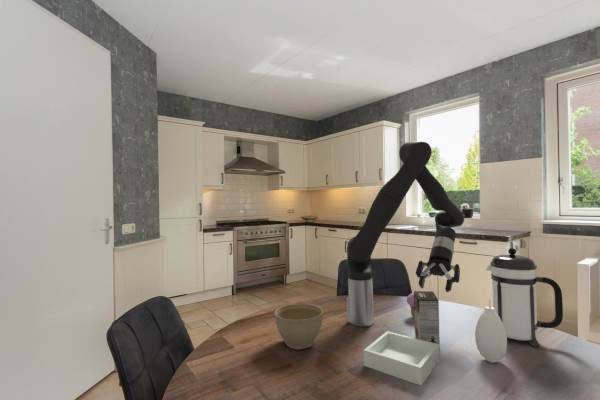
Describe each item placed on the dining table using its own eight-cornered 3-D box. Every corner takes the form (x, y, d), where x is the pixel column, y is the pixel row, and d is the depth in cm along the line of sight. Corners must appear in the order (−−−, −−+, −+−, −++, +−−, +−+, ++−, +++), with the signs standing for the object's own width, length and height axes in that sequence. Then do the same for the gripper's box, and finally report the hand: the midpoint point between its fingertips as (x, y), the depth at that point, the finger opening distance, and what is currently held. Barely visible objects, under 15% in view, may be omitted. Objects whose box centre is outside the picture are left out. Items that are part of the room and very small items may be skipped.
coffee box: (414, 337, 106) (413, 290, 106) (434, 338, 105) (432, 291, 105) (419, 350, 97) (417, 298, 97) (441, 351, 96) (439, 299, 96)
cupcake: (406, 319, 122) (405, 294, 122) (408, 312, 130) (407, 288, 130) (431, 322, 118) (430, 296, 118) (431, 314, 126) (430, 290, 126)
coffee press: (519, 353, 93) (516, 253, 94) (478, 331, 109) (476, 246, 109) (565, 345, 97) (562, 250, 97) (519, 326, 113) (516, 243, 113)
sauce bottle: (509, 370, 84) (506, 304, 84) (476, 364, 88) (473, 300, 88) (506, 357, 91) (504, 296, 91) (475, 352, 95) (473, 293, 95)
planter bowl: (333, 341, 104) (332, 309, 104) (300, 360, 93) (299, 324, 93) (298, 329, 115) (297, 300, 115) (265, 344, 104) (264, 312, 104)
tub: (364, 365, 89) (363, 349, 89) (387, 344, 101) (387, 331, 101) (421, 385, 78) (420, 367, 78) (439, 359, 91) (438, 344, 91)
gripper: (420, 244, 119) (410, 280, 110) (461, 246, 110) (453, 286, 101) (425, 255, 123) (416, 291, 114) (464, 259, 114) (458, 298, 105)
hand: (433, 289), depth 108 cm, fingers open, 8 cm apart
